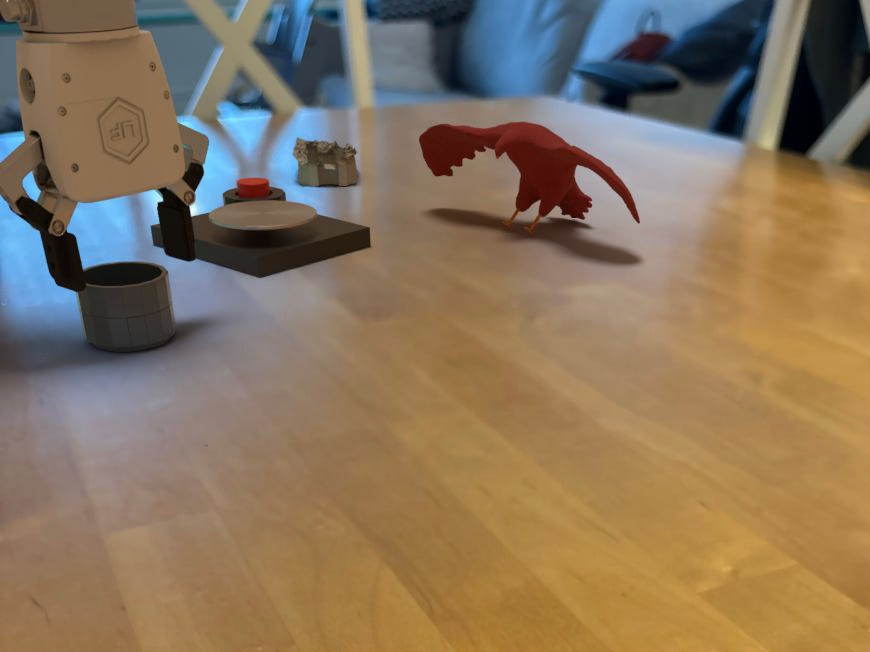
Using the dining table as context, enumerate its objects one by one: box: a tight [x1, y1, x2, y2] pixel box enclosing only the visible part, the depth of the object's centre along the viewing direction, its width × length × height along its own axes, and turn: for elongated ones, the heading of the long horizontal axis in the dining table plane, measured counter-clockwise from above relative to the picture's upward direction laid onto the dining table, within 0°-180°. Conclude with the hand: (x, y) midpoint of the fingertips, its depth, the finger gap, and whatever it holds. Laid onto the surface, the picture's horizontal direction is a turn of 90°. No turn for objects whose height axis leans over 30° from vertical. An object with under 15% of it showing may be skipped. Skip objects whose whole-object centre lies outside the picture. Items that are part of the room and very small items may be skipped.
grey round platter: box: [208, 200, 318, 230], centre depth 104 cm, size 10×10×1 cm
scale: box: [149, 186, 372, 279], centre depth 108 cm, size 17×14×4 cm
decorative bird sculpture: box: [418, 121, 641, 237], centre depth 112 cm, size 28×9×15 cm
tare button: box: [236, 177, 271, 198], centre depth 112 cm, size 3×3×2 cm
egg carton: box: [291, 137, 358, 188], centre depth 133 cm, size 11×8×4 cm
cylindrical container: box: [75, 260, 177, 353], centre depth 85 cm, size 7×7×5 cm
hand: (127, 272), depth 83 cm, fingers open, 9 cm apart
